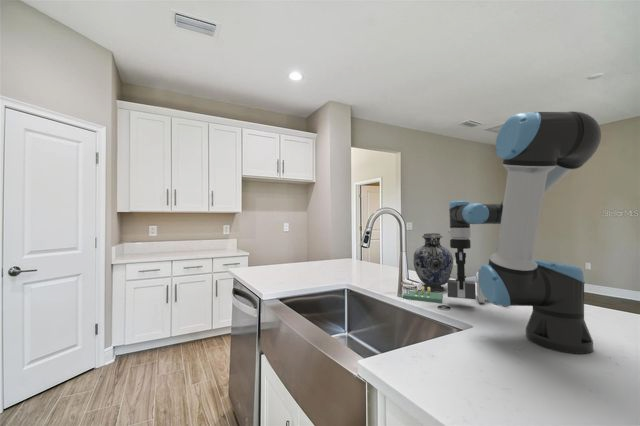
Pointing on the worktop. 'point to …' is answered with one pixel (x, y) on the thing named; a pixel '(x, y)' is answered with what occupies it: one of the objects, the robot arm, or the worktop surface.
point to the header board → (424, 296)
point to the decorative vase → (433, 263)
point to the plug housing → (469, 289)
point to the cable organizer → (479, 291)
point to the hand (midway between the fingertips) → (461, 295)
